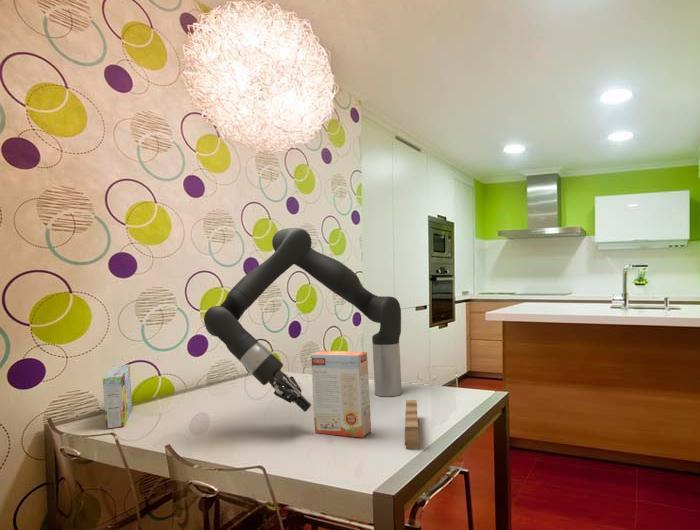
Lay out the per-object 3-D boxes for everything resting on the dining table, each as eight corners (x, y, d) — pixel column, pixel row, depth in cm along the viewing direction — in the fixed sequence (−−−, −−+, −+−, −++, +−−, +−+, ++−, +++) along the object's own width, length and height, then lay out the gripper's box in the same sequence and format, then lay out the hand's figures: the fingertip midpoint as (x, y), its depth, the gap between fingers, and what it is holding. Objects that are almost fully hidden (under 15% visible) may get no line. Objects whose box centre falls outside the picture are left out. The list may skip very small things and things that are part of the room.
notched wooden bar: (405, 417, 133) (404, 400, 133) (417, 417, 133) (416, 399, 133) (404, 448, 109) (403, 427, 110) (419, 448, 109) (418, 427, 109)
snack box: (114, 411, 155) (112, 365, 156) (132, 409, 157) (131, 363, 158) (103, 430, 135) (101, 377, 136) (125, 427, 137) (123, 375, 138)
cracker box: (372, 431, 123) (368, 350, 124) (362, 439, 118) (358, 354, 118) (325, 426, 129) (321, 349, 130) (313, 433, 124) (310, 353, 124)
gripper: (262, 357, 120) (312, 405, 118) (277, 349, 133) (322, 392, 131) (243, 378, 120) (292, 426, 118) (260, 368, 133) (304, 411, 132)
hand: (308, 408), depth 125 cm, fingers closed
